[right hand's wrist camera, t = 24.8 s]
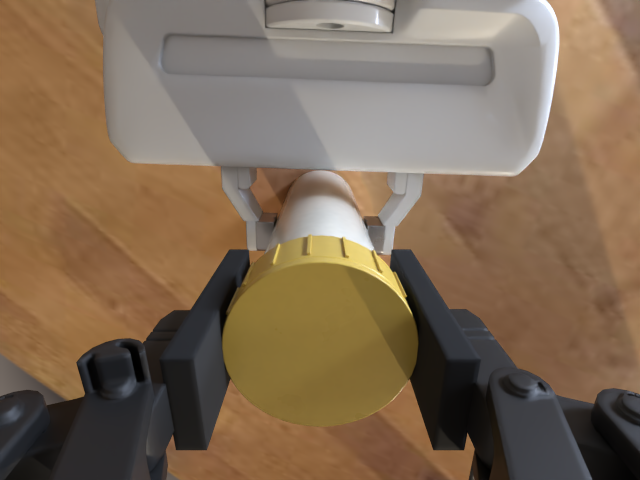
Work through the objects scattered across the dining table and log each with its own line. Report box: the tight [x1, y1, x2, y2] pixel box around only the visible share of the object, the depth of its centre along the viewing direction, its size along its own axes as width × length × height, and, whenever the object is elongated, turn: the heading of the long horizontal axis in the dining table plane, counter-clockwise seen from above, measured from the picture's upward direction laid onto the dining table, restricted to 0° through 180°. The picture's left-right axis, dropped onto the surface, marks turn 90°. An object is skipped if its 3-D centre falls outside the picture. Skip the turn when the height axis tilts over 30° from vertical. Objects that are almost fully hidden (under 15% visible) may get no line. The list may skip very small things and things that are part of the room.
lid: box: [222, 234, 419, 427], centre depth 11 cm, size 6×6×2 cm
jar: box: [264, 170, 375, 254], centre depth 19 cm, size 5×5×16 cm
